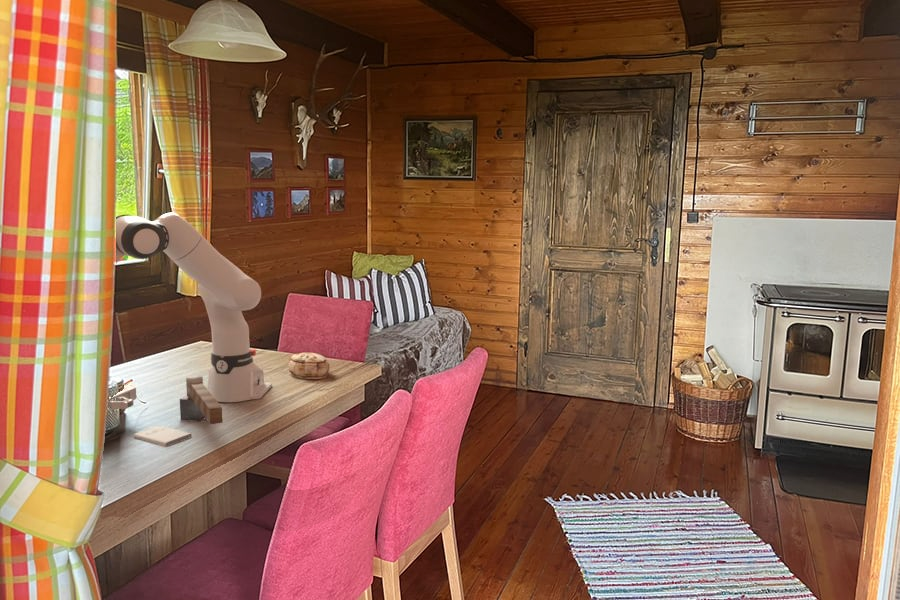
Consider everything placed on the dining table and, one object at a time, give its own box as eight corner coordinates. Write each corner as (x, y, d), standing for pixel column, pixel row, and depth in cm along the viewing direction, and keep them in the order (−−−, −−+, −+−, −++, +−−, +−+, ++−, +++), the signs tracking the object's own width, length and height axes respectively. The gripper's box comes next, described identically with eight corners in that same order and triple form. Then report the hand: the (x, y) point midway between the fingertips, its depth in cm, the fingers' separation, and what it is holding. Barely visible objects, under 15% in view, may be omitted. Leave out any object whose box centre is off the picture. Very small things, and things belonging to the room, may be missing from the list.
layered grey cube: (192, 413, 209) (191, 393, 208) (211, 414, 207) (210, 394, 206) (180, 419, 203) (179, 399, 202) (200, 421, 202) (199, 400, 201)
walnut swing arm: (185, 394, 205) (184, 377, 204) (201, 392, 207) (200, 375, 206) (207, 424, 179) (206, 405, 179) (225, 422, 182) (224, 403, 181)
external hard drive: (165, 448, 182) (133, 439, 188) (191, 439, 189) (159, 430, 195) (165, 442, 182) (133, 433, 188) (191, 433, 189) (159, 424, 195)
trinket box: (326, 381, 245) (326, 358, 244) (282, 380, 246) (282, 357, 244) (333, 370, 258) (333, 349, 257) (292, 370, 259) (291, 348, 258)
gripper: (53, 399, 180) (102, 404, 177) (107, 378, 199) (152, 382, 197) (55, 424, 181) (104, 428, 178) (108, 400, 200) (153, 404, 198)
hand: (130, 404), depth 188 cm, fingers closed
